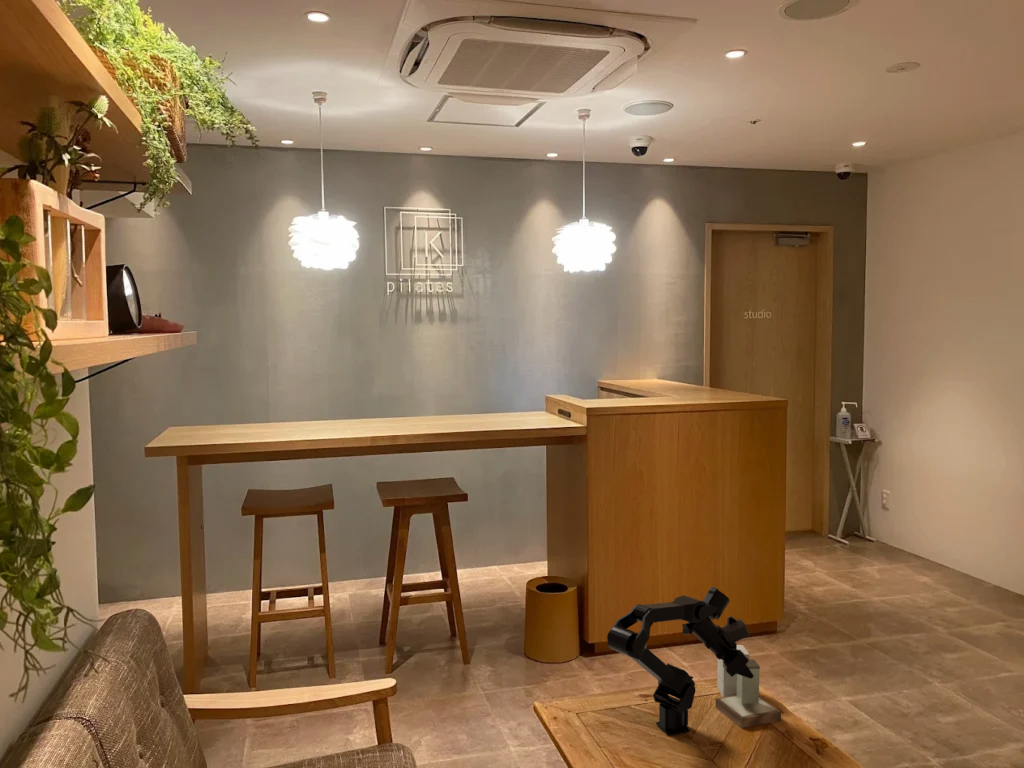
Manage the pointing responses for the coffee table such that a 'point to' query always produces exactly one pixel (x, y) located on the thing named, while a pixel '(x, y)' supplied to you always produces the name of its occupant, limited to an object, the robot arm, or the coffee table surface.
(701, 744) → the coffee table surface
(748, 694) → the olive grey square block
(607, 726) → the coffee table surface
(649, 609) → the robot arm
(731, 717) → the brown framed square mirror
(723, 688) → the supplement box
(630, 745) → the coffee table surface
